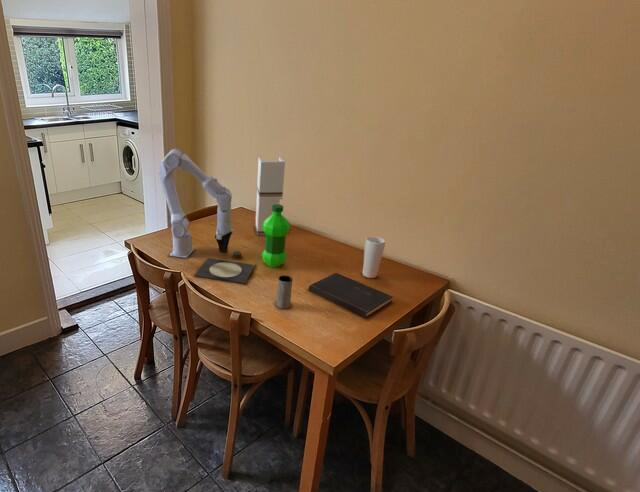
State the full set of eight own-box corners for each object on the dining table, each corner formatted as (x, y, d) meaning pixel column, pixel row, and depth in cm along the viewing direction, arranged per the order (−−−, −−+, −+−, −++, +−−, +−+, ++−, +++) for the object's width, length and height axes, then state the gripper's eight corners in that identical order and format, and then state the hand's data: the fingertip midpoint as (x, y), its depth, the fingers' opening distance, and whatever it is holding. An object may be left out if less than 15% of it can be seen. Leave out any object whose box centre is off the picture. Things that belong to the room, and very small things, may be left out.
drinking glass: (378, 272, 161) (385, 237, 154) (378, 280, 155) (385, 244, 148) (360, 270, 163) (366, 235, 156) (360, 278, 157) (366, 242, 150)
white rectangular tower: (279, 235, 196) (284, 162, 182) (257, 235, 197) (260, 162, 182) (276, 226, 207) (281, 156, 192) (255, 226, 207) (258, 156, 192)
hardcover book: (335, 277, 157) (335, 272, 156) (391, 302, 141) (392, 296, 140) (308, 291, 148) (308, 285, 147) (365, 318, 132) (366, 312, 131)
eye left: (220, 249, 178) (220, 245, 177) (228, 250, 177) (228, 246, 176) (218, 253, 175) (218, 248, 174) (226, 254, 174) (226, 249, 173)
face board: (208, 259, 173) (208, 257, 172) (254, 266, 167) (254, 264, 166) (194, 276, 159) (194, 274, 159) (244, 284, 153) (245, 282, 153)
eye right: (234, 255, 177) (234, 250, 176) (242, 256, 175) (242, 251, 175) (231, 258, 173) (232, 254, 173) (240, 259, 172) (240, 255, 172)
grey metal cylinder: (275, 301, 142) (277, 275, 137) (288, 301, 142) (290, 275, 137) (278, 309, 137) (280, 282, 133) (291, 308, 138) (294, 281, 133)
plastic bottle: (288, 261, 170) (293, 203, 160) (282, 272, 162) (286, 211, 151) (265, 257, 174) (269, 200, 164) (257, 267, 166) (260, 208, 155)
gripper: (228, 226, 162) (227, 257, 168) (238, 214, 174) (237, 243, 180) (211, 223, 164) (211, 254, 170) (222, 212, 176) (221, 241, 182)
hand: (223, 248), depth 175 cm, fingers closed on eye left, 3 cm apart
